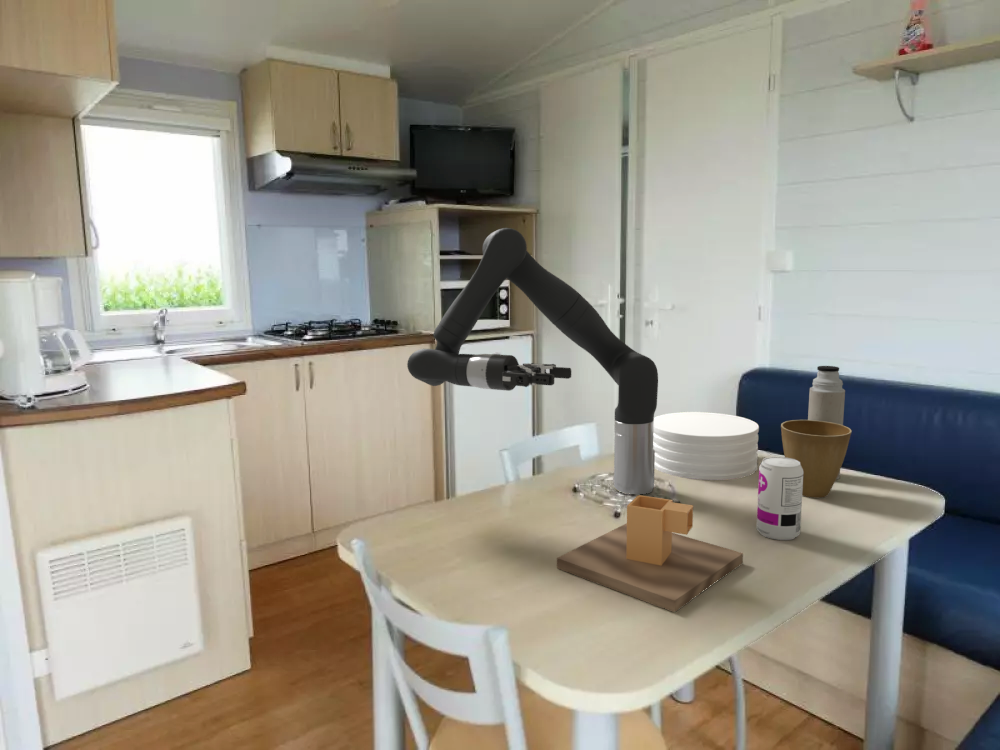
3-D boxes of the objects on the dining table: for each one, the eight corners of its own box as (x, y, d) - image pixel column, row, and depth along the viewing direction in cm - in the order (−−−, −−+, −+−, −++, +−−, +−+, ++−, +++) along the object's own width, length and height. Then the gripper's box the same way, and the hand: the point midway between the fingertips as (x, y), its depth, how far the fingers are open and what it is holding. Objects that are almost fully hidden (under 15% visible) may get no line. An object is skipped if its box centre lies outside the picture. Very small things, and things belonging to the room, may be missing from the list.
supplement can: (756, 538, 138) (759, 465, 135) (756, 523, 146) (759, 454, 143) (800, 543, 135) (804, 469, 133) (798, 528, 143) (802, 457, 140)
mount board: (631, 530, 143) (631, 520, 143) (742, 563, 127) (742, 553, 127) (557, 568, 127) (556, 557, 126) (674, 612, 110) (674, 600, 110)
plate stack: (694, 486, 170) (695, 441, 168) (629, 458, 196) (629, 418, 194) (780, 471, 181) (782, 428, 179) (708, 445, 207) (709, 408, 205)
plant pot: (771, 496, 162) (774, 429, 159) (785, 479, 174) (788, 417, 171) (842, 508, 153) (846, 438, 151) (851, 489, 166) (855, 423, 163)
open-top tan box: (626, 558, 125) (627, 505, 124) (637, 545, 131) (638, 494, 129) (684, 570, 120) (685, 515, 119) (693, 556, 126) (694, 503, 124)
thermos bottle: (830, 470, 180) (837, 363, 176) (845, 480, 172) (852, 368, 168) (799, 471, 180) (805, 364, 176) (813, 480, 172) (819, 369, 168)
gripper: (475, 358, 142) (547, 363, 134) (508, 350, 154) (576, 353, 147) (476, 394, 143) (548, 401, 136) (508, 383, 156) (576, 388, 148)
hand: (562, 376), depth 141 cm, fingers open, 8 cm apart
